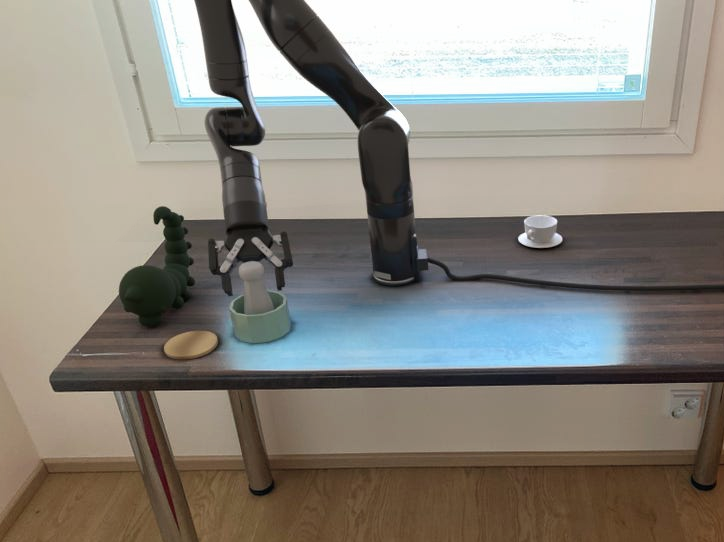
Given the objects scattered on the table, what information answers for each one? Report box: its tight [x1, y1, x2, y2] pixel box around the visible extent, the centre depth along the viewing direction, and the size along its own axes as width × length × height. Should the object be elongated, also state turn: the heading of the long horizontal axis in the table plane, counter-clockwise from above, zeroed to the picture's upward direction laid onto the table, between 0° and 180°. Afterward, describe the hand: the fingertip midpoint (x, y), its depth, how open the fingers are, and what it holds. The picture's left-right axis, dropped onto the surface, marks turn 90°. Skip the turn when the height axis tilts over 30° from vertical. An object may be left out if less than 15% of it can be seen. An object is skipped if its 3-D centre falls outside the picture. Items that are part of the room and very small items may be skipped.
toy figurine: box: [118, 205, 196, 328], centre depth 138 cm, size 9×19×25 cm
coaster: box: [163, 330, 219, 361], centre depth 131 cm, size 9×9×1 cm
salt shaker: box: [238, 261, 275, 315], centre depth 132 cm, size 6×6×13 cm
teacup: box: [517, 214, 563, 249], centre depth 166 cm, size 10×10×5 cm
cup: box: [228, 289, 292, 344], centre depth 134 cm, size 10×10×6 cm
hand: (255, 292), depth 131 cm, fingers open, 8 cm apart
